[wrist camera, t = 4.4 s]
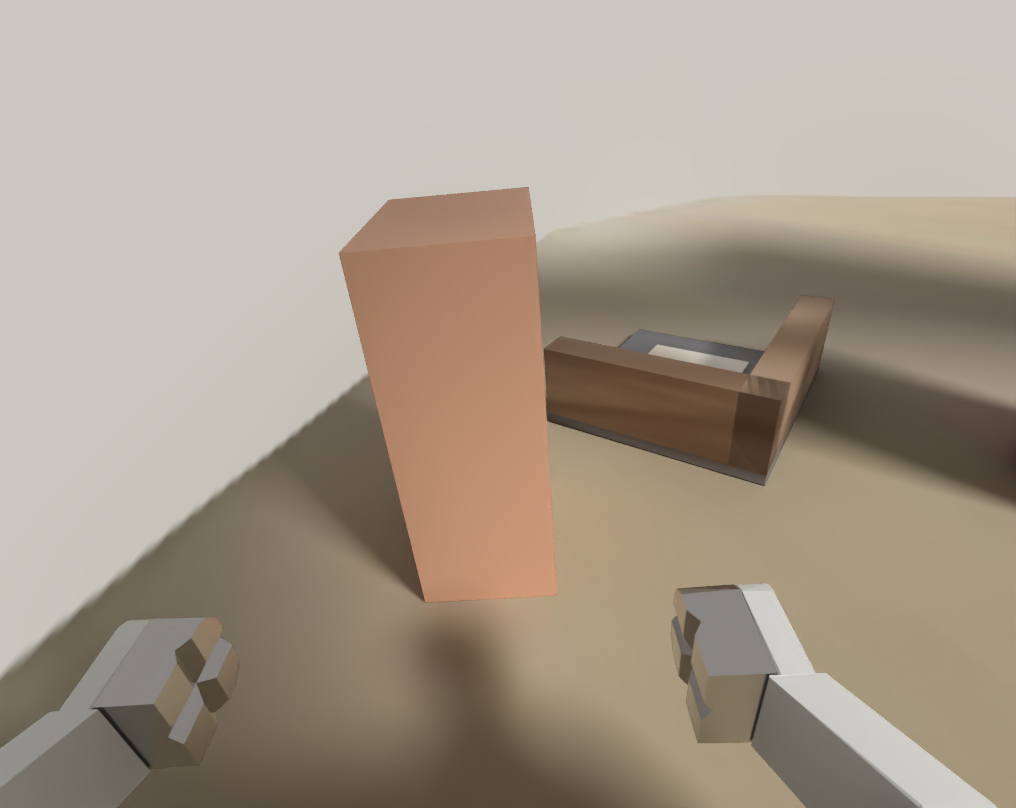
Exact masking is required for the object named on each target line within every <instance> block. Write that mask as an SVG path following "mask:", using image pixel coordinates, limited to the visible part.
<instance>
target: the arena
mask: <svg viewBox="0 0 1016 808" xmlns="http://www.w3.org/2000/svg"><path fill="white" fill-rule="evenodd" d="M834 300H835V299H831V298H823V297H815V296H806V295H801V297H800V298H799V300H798V302H797V303H796V305H795V306H794V308H793V309H792V311H791V312H790V314H789V315H788V317H787V318H786V320H785V321H784V323H783V325H782V326H781V328H780V329H779V331H778V332H777V334H776V335H775V337H774V338H773V340H772V341H771V343H770V344H769V346H768V348H767V349H766V351H759V350H753V349H748V348H742V347H736V346H731V345H725V344H719V343H714V342H708V341H703V340H697V339H691V338H686V337H680V336H674V335H669V334H663V333H657V332H652V331H646V330H641V329H639V330H638V331H637V332H636V333H635V334H634V335H633V336H632V337H630V338H629V339H628V340H627V341H626V342H625V343H624V344H623V345H622V346H621V347H619V348H615V347H610V346H606V345H601V344H596V343H591V342H586V341H581V340H576V339H571V338H566V337H561V336H560V337H559V338H558V339H556V340H555V341H554V342H552V343H551V344H550V345H548V346H547V347H546V348H544V360H545V377H546V393H547V410H548V421H551V422H554V423H557V424H561V425H564V426H567V427H571V428H574V429H577V430H581V431H584V432H587V433H591V434H594V435H597V436H601V437H604V438H607V439H611V440H614V441H617V442H621V443H624V444H627V445H631V446H634V447H637V448H641V449H644V450H647V451H651V452H654V453H657V454H661V455H664V456H667V457H671V458H674V459H677V460H681V461H684V462H688V463H691V464H694V465H698V466H701V467H704V468H708V469H711V470H714V471H718V472H721V473H724V474H728V475H731V476H734V477H738V478H741V479H744V480H748V481H751V482H754V483H758V484H761V485H764V486H765V483H766V481H767V479H768V477H769V475H770V473H771V471H772V468H773V466H774V464H775V462H776V460H777V458H778V456H779V453H780V451H781V449H782V447H783V445H784V443H785V440H786V438H787V436H788V434H789V432H790V430H791V428H792V425H793V423H794V421H795V419H796V417H797V415H798V413H799V410H800V408H801V406H802V404H803V402H804V400H805V397H806V395H807V393H808V391H809V389H810V387H811V385H812V382H813V380H814V378H815V376H816V374H817V372H818V369H819V365H820V361H821V356H822V352H823V348H824V343H825V339H826V335H827V330H828V326H829V322H830V317H831V313H832V309H833V304H834Z"/></svg>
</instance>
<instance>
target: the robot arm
mask: <svg viewBox="0 0 1016 808" xmlns="http://www.w3.org/2000/svg"><path fill="white" fill-rule="evenodd" d="M673 604H674V607H675V610H676V614H677V616H675V617H674V618H673V619H672V623H671V640H672V650H673V655H674V660H675V664H676V668H677V672H678V676H679V677H680V678H681V679H682V680H683V681H684V682H685V683H686V684H687V685H688V689H687V697H686V704H687V708H688V711H689V715H690V718H691V722H692V725H693V729H694V732H695V736H696V739H697V743H745V742H752V744H751V746H752V747H753V748H754V749H755V750H756V751H757V752H758V754H759V755H760V756H761V757H762V758H763V759H764V760H765V762H766V763H767V764H768V765H769V766H770V767H771V768H772V769H773V771H774V772H775V773H776V774H777V775H778V776H779V777H780V778H781V780H782V781H783V782H784V783H785V784H786V785H787V786H788V787H789V789H790V790H791V791H792V792H793V793H794V794H795V795H796V796H797V798H798V799H799V800H800V801H801V802H802V803H803V804H804V806H805V807H806V808H997V807H996V806H995V805H994V804H993V803H992V802H990V801H989V800H988V799H987V798H985V797H984V796H983V795H981V794H980V793H979V792H978V791H976V790H975V789H974V788H972V787H971V786H970V785H969V784H967V783H966V782H965V781H963V780H962V779H961V778H960V777H958V776H957V775H956V774H954V773H953V772H952V771H951V770H949V769H948V768H947V767H946V766H944V765H943V764H942V763H940V762H939V761H938V760H937V759H935V758H934V757H933V756H931V755H930V754H929V753H928V752H926V751H925V750H924V749H922V748H921V747H920V746H919V745H917V744H916V743H915V742H913V741H912V740H911V739H910V738H908V737H907V736H906V735H905V734H903V733H902V732H901V731H899V730H898V729H897V728H896V727H894V726H893V725H892V724H890V723H889V722H888V721H887V720H885V719H884V718H883V717H881V716H880V715H879V714H878V713H876V712H875V711H874V710H872V709H871V708H870V707H869V706H867V705H866V704H865V703H864V702H862V701H861V700H860V699H858V698H857V697H856V696H855V695H853V694H852V693H851V692H849V691H848V690H847V689H846V688H844V687H843V686H842V685H840V684H839V683H838V682H837V681H835V680H834V679H833V678H831V677H830V676H829V675H828V674H826V673H815V671H814V669H813V667H812V665H811V663H810V661H809V659H808V657H807V655H806V653H805V651H804V649H803V647H802V646H801V644H800V642H799V640H798V638H797V636H796V634H795V632H794V630H793V628H792V626H791V624H790V622H789V620H788V618H787V616H786V614H785V612H784V610H783V609H782V607H781V605H780V603H779V601H778V599H777V597H776V595H775V593H774V591H773V589H772V588H771V587H770V586H769V585H768V584H767V583H761V584H746V585H720V586H706V587H693V588H679V589H676V591H675V593H674V601H673ZM222 630H223V627H222V626H221V624H220V623H219V621H218V620H217V618H216V617H200V618H167V619H142V620H128V621H126V622H125V623H124V624H122V625H121V626H119V627H118V628H117V629H116V631H115V632H114V634H113V635H112V636H111V638H110V639H109V641H108V642H107V643H106V645H105V646H104V648H103V649H102V650H101V652H100V653H99V655H98V656H97V657H96V659H95V660H94V662H93V663H92V665H91V666H90V667H89V669H88V670H87V672H86V673H85V674H84V676H83V677H82V679H81V680H80V681H79V683H78V684H77V686H76V687H75V688H74V690H73V691H72V693H71V694H70V696H69V697H68V698H67V700H66V701H65V703H64V704H63V705H62V707H61V708H60V710H59V711H50V712H49V713H47V714H46V715H44V716H43V717H42V718H40V719H39V720H38V721H36V722H35V723H34V724H32V725H31V726H30V727H28V728H27V729H26V730H24V731H23V732H22V733H20V734H19V735H18V736H16V737H15V738H14V739H12V740H11V741H9V742H8V743H7V744H5V745H4V746H3V747H1V748H0V808H118V807H119V806H120V805H121V803H122V802H123V801H124V800H125V799H126V798H127V797H128V796H129V795H130V794H131V793H132V792H133V791H134V790H135V789H136V787H137V786H138V785H139V784H140V783H141V782H142V781H143V780H144V779H145V778H146V777H147V776H148V775H149V774H150V772H151V771H150V770H149V769H157V768H170V767H184V766H197V765H200V763H201V761H202V759H203V757H204V754H205V752H206V750H207V748H208V745H209V743H210V741H211V739H212V737H213V734H214V732H215V730H216V728H217V726H218V724H217V719H216V715H215V712H216V711H217V710H218V709H219V708H220V707H221V706H222V705H223V704H225V703H226V702H227V701H228V700H229V699H230V696H231V694H232V691H233V689H234V687H235V684H236V681H237V674H238V668H239V663H238V657H237V653H236V651H235V649H234V647H233V645H232V644H231V643H229V642H227V641H225V640H224V639H222V638H220V635H221V633H222Z"/></svg>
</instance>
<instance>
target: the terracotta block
mask: <svg viewBox="0 0 1016 808" xmlns="http://www.w3.org/2000/svg"><path fill="white" fill-rule="evenodd" d="M339 256H340V260H341V264H342V268H343V272H344V276H345V280H346V284H347V288H348V292H349V296H350V300H351V304H352V308H353V312H354V316H355V320H356V325H357V328H358V333H359V337H360V341H361V344H362V348H363V353H364V357H365V361H366V365H367V369H368V373H369V377H370V381H371V385H372V389H373V393H374V397H375V401H376V405H377V409H378V413H379V417H380V421H381V425H382V429H383V433H384V437H385V441H386V445H387V449H388V453H389V458H390V462H391V466H392V470H393V474H394V478H395V482H396V486H397V490H398V494H399V498H400V502H401V506H402V510H403V514H404V518H405V522H406V526H407V530H408V534H409V538H410V542H411V546H412V550H413V554H414V558H415V562H416V566H417V570H418V574H419V578H420V582H421V586H422V591H423V595H424V599H425V603H426V602H445V601H463V600H481V599H500V598H518V597H537V596H555V595H557V579H556V562H555V546H554V530H553V513H552V497H551V481H550V464H549V448H548V432H547V415H546V399H545V383H544V366H543V350H542V334H541V317H540V301H539V285H538V268H537V252H536V236H535V229H534V222H533V215H532V208H531V201H530V194H529V187H523V188H513V189H502V190H491V191H480V192H469V193H459V194H447V195H437V196H426V197H415V198H404V199H393V200H388V201H387V202H386V203H385V205H384V206H383V207H382V208H381V209H380V210H379V211H378V212H377V213H376V214H375V215H374V216H373V218H371V219H370V220H369V221H368V223H367V224H366V225H365V226H364V227H363V228H362V229H361V230H360V231H359V232H358V233H357V234H356V235H355V236H354V238H352V239H351V241H350V242H349V243H348V244H347V245H346V246H345V247H344V248H343V249H342V250H341V251H340V252H339Z"/></svg>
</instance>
